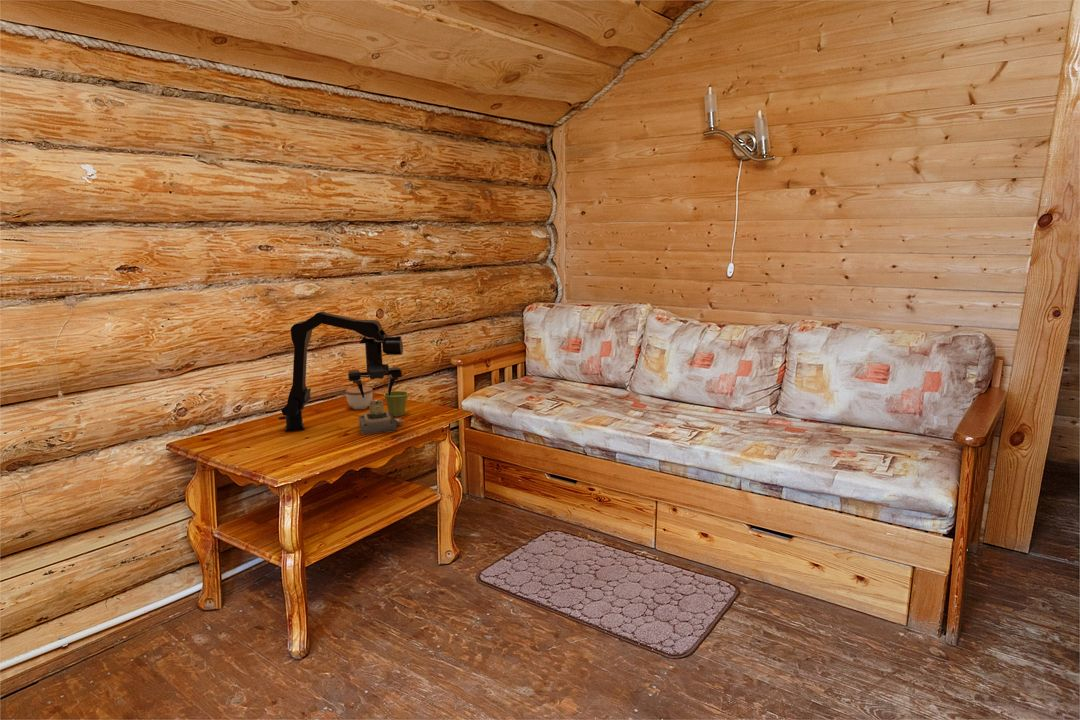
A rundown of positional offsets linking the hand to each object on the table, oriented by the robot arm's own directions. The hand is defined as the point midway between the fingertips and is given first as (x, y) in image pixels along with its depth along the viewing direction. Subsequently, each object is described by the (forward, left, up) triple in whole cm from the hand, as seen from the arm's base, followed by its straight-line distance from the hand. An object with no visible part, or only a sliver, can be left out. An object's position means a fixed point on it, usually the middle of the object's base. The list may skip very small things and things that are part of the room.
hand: (376, 396), depth 236 cm
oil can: (0, 0, -9) cm, 9 cm away
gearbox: (0, +1, -12) cm, 12 cm away
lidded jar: (-31, -4, -12) cm, 34 cm away
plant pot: (-15, +9, -12) cm, 21 cm away
